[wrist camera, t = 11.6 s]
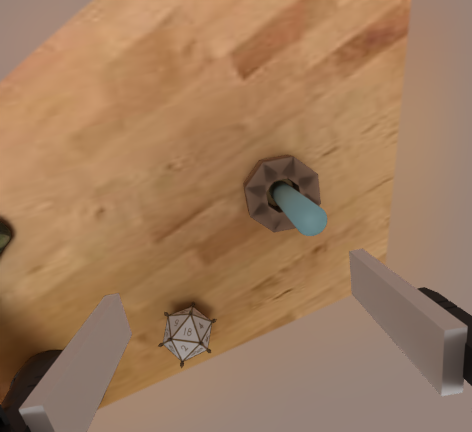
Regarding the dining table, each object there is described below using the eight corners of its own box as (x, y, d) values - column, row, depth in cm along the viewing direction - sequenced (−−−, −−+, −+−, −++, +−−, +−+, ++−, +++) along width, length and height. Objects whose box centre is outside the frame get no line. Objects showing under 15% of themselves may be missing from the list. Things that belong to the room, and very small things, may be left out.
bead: (251, 227, 42) (253, 236, 38) (239, 164, 39) (241, 166, 36) (313, 215, 42) (322, 223, 38) (306, 151, 39) (315, 152, 35)
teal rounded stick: (271, 202, 41) (297, 238, 26) (267, 183, 40) (293, 209, 25) (290, 198, 41) (328, 232, 26) (287, 179, 40) (325, 202, 25)
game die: (201, 297, 50) (233, 314, 42) (193, 344, 49) (224, 371, 41) (154, 297, 44) (180, 316, 36) (144, 350, 43) (169, 381, 35)
